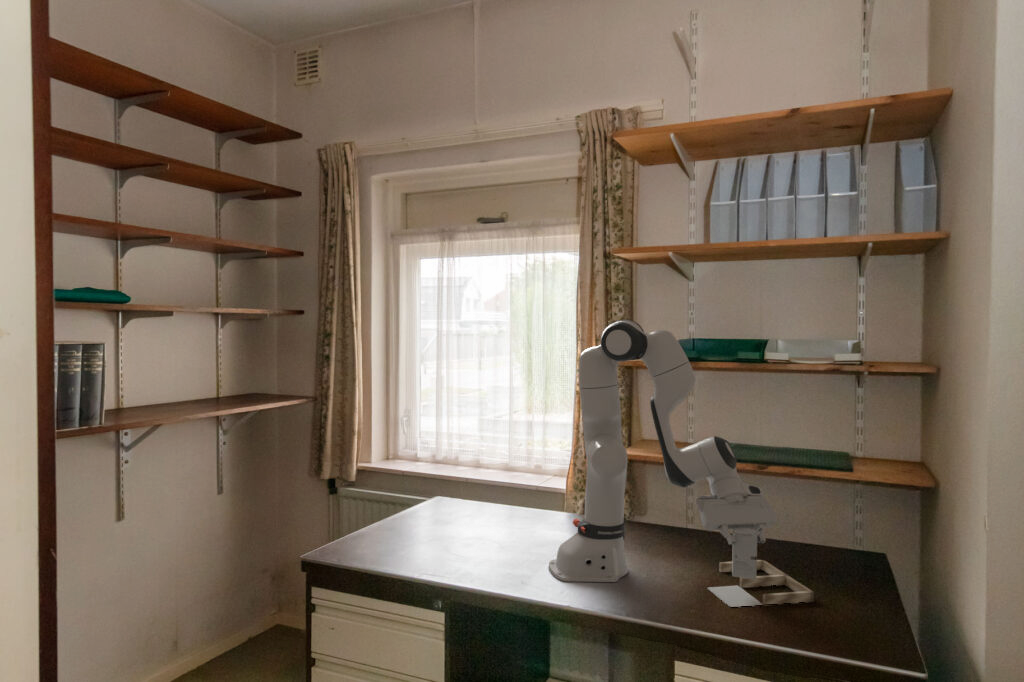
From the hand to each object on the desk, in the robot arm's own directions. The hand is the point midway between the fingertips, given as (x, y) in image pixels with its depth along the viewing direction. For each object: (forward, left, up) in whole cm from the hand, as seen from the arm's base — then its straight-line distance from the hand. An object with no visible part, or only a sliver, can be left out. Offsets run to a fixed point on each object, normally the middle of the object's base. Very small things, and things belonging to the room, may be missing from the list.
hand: (747, 542), depth 172 cm
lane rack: (+10, +6, -15) cm, 19 cm away
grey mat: (-2, +1, -15) cm, 15 cm away
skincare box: (0, +1, -9) cm, 9 cm away
